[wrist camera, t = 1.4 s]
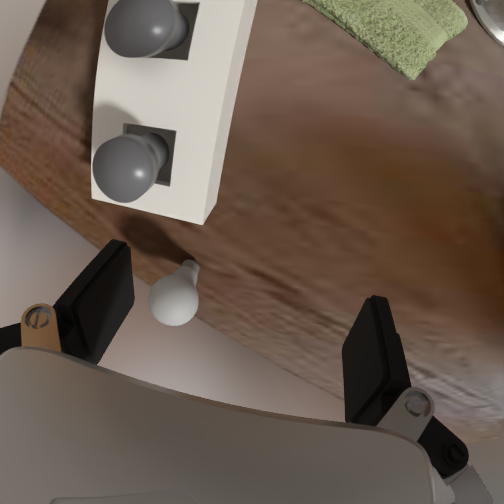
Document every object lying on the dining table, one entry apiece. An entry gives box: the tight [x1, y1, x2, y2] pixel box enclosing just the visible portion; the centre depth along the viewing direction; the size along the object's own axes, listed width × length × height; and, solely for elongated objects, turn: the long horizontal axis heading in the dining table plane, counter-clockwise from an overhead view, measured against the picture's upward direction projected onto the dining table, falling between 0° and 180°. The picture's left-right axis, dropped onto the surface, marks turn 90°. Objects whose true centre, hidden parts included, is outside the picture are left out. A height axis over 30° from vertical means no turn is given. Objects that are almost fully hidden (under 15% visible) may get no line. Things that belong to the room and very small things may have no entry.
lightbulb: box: [148, 260, 199, 326], centre depth 39 cm, size 6×6×11 cm
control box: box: [91, 0, 258, 225], centre depth 29 cm, size 26×14×6 cm, turn 168°
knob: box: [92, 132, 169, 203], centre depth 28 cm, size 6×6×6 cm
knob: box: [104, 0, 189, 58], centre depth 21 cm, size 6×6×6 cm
